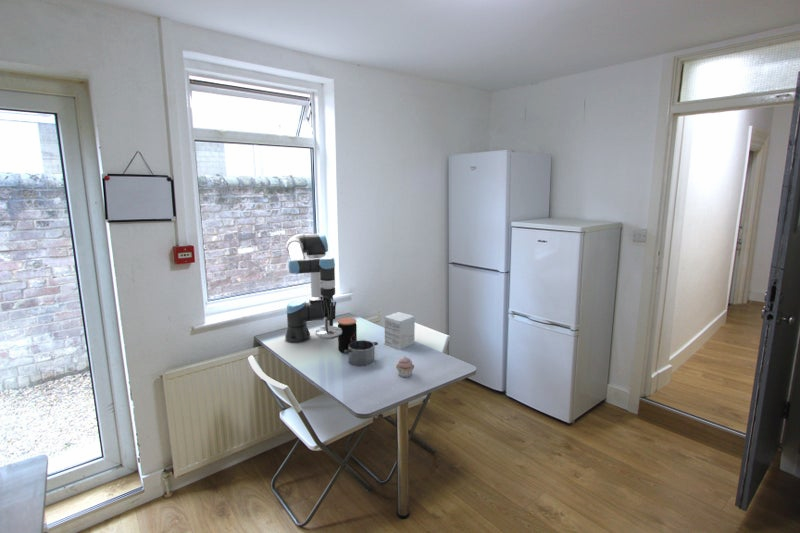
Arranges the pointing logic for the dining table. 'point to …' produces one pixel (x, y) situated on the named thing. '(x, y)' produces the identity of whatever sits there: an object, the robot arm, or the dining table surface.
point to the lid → (325, 334)
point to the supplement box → (399, 330)
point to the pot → (361, 353)
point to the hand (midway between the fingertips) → (328, 329)
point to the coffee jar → (346, 333)
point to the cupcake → (405, 367)
